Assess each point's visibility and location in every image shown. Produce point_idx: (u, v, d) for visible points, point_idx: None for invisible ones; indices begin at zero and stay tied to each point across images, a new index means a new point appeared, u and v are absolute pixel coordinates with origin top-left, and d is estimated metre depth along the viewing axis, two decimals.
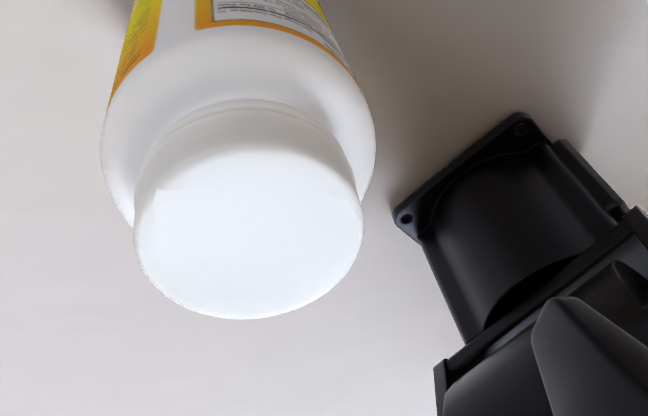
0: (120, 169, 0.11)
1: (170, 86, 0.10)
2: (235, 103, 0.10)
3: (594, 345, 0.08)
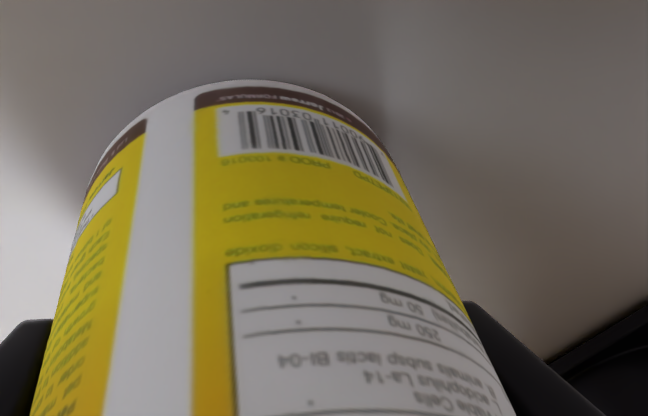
0: None
1: None
2: None
3: None
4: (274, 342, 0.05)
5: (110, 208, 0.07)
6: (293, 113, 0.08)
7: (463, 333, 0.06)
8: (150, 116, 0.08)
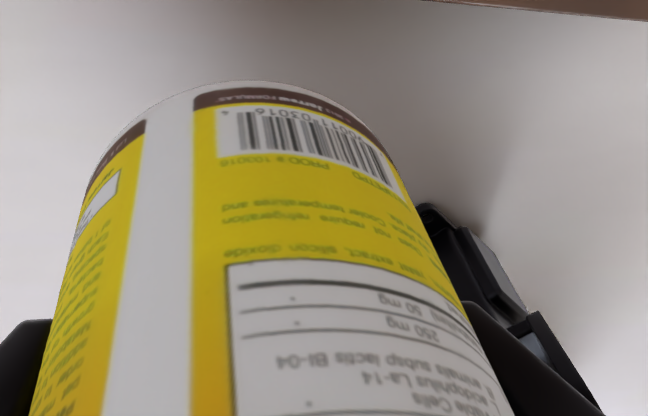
0: None
1: None
2: None
3: None
4: (271, 343, 0.05)
5: (110, 208, 0.07)
6: (291, 113, 0.08)
7: (462, 334, 0.06)
8: (149, 117, 0.08)
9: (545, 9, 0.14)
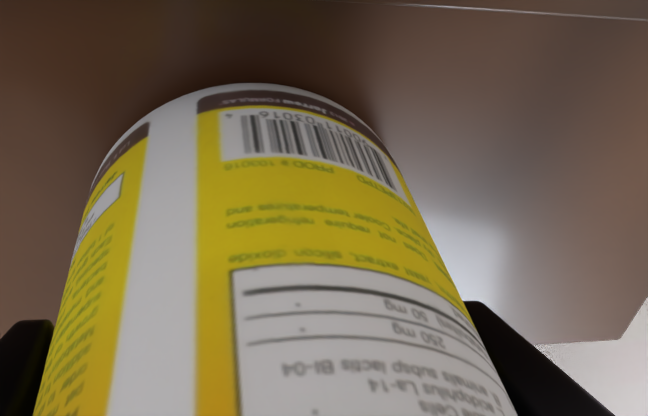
0: None
1: None
2: None
3: (487, 352, 0.08)
4: (276, 350, 0.05)
5: (113, 212, 0.07)
6: (295, 116, 0.08)
7: (468, 340, 0.06)
8: (152, 120, 0.08)
9: None
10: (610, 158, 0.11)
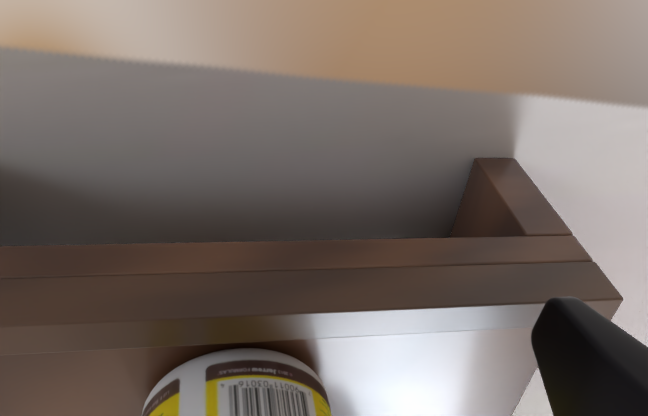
0: None
1: None
2: None
3: (594, 345, 0.08)
4: None
5: None
6: (258, 383, 0.15)
7: None
8: (181, 378, 0.15)
9: None
10: (460, 359, 0.18)
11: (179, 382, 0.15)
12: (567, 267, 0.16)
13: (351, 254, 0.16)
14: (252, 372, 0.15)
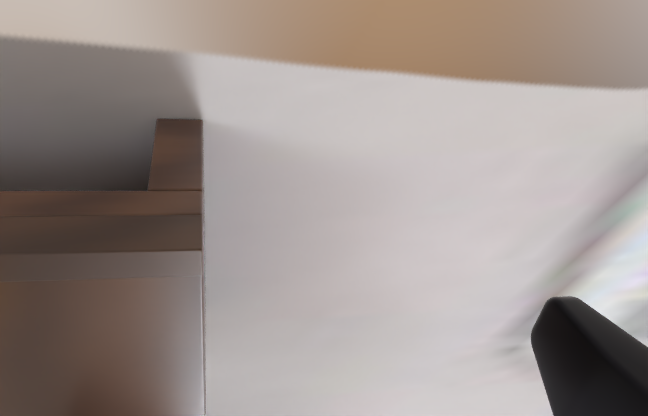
0: None
1: None
2: None
3: (594, 345, 0.08)
4: None
5: None
6: None
7: None
8: None
9: None
10: (106, 318, 0.18)
11: None
12: (165, 219, 0.16)
13: None
14: None
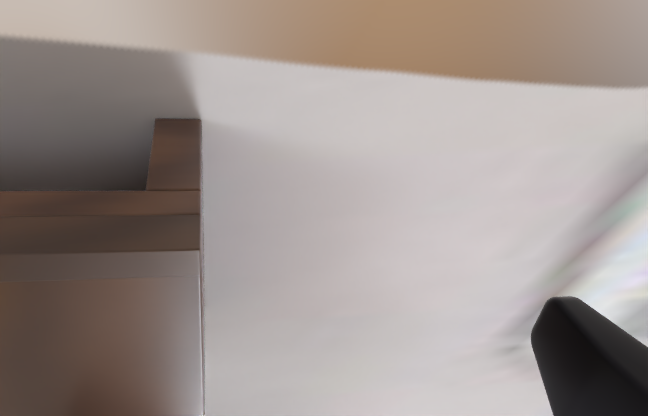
0: None
1: None
2: None
3: (594, 345, 0.08)
4: None
5: None
6: None
7: None
8: None
9: None
10: (104, 318, 0.18)
11: None
12: (163, 219, 0.16)
13: None
14: None
